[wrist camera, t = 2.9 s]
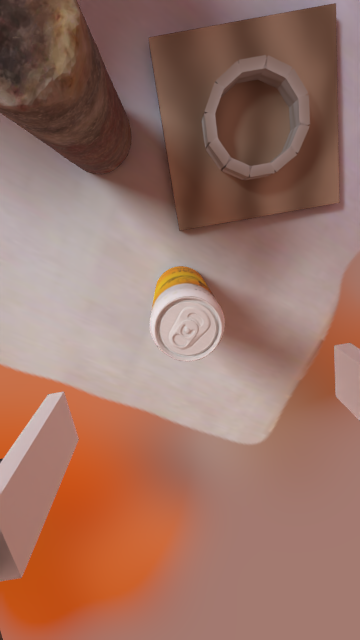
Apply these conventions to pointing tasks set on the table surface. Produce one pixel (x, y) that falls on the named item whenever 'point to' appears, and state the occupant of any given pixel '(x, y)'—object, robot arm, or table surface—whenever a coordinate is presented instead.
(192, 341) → the beer can
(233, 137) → the can holder
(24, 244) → the table surface
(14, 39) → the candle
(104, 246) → the table surface
